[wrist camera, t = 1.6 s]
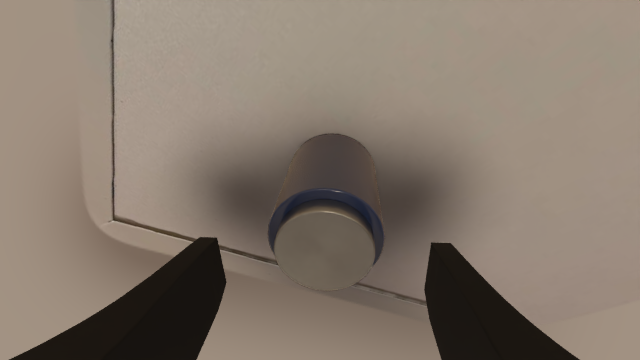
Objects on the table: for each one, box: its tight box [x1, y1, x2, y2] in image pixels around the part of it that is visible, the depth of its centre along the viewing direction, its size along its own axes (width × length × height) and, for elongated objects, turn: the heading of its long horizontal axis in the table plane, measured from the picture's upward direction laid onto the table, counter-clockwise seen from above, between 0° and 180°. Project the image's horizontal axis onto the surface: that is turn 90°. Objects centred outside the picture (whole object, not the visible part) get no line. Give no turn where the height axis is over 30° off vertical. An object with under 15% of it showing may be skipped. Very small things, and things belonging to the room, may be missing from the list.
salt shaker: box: [268, 134, 385, 291], centre depth 15 cm, size 4×4×6 cm
